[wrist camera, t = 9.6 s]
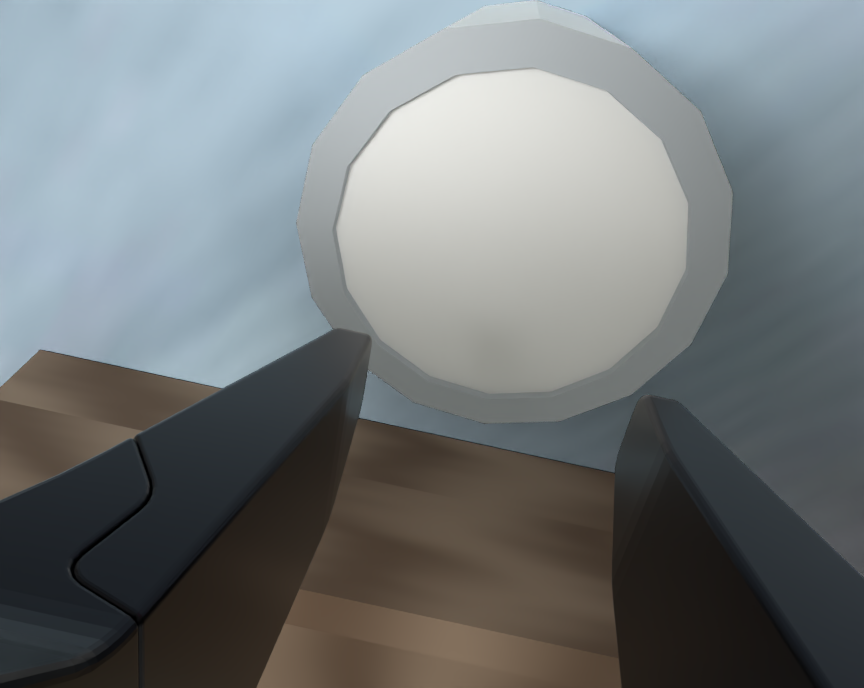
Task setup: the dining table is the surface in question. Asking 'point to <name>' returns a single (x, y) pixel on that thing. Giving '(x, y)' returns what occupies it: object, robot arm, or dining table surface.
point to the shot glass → (516, 217)
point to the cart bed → (384, 543)
